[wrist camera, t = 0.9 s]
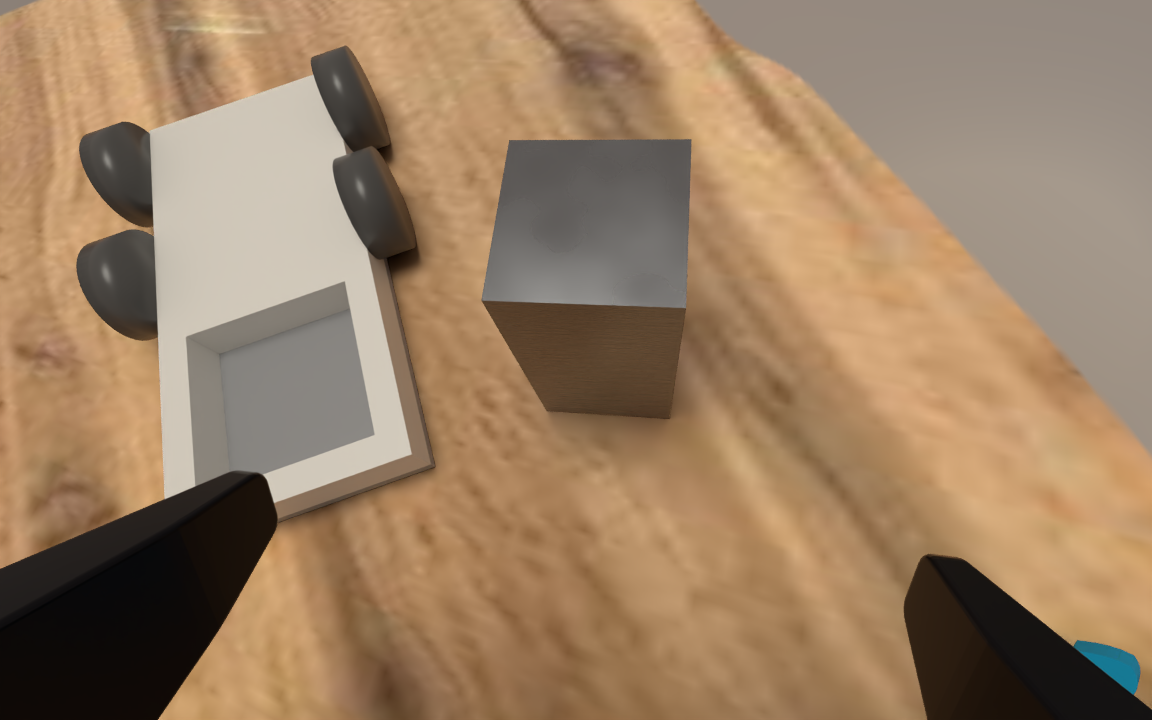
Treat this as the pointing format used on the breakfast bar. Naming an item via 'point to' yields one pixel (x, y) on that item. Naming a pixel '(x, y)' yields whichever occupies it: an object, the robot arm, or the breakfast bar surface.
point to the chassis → (266, 287)
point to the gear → (1112, 663)
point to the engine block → (593, 271)
